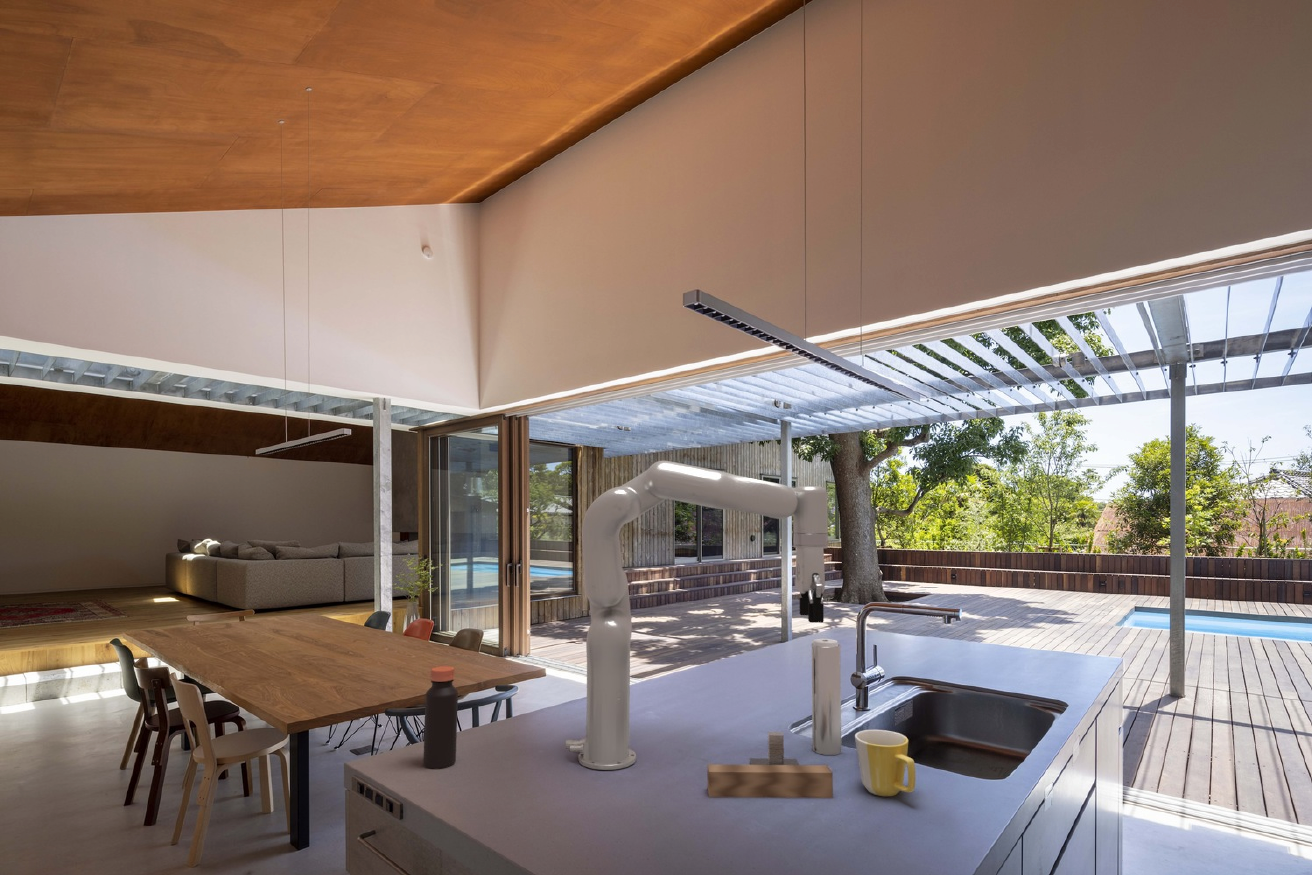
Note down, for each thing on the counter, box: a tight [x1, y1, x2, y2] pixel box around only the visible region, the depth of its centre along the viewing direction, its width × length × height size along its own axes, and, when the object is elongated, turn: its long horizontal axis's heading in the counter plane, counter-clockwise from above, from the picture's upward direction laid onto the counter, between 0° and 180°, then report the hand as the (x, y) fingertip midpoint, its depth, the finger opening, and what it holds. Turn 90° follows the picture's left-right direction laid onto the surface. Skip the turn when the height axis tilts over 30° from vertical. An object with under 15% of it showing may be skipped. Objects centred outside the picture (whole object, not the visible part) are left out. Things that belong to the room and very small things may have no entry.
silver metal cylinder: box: [811, 638, 842, 756], centre depth 170 cm, size 6×6×25 cm
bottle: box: [422, 665, 459, 770], centre depth 160 cm, size 7×7×20 cm
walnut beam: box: [706, 764, 834, 799], centre depth 145 cm, size 24×4×5 cm, turn 90°
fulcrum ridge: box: [749, 731, 800, 765], centre depth 156 cm, size 10×8×8 cm
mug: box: [854, 729, 916, 797], centre depth 145 cm, size 14×10×10 cm
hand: (811, 618), depth 164 cm, fingers open, 9 cm apart
